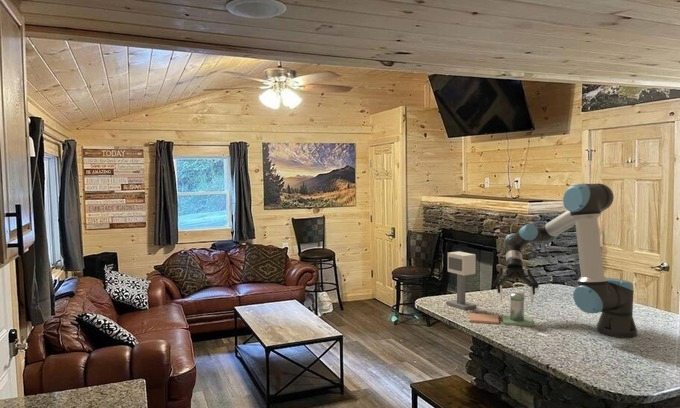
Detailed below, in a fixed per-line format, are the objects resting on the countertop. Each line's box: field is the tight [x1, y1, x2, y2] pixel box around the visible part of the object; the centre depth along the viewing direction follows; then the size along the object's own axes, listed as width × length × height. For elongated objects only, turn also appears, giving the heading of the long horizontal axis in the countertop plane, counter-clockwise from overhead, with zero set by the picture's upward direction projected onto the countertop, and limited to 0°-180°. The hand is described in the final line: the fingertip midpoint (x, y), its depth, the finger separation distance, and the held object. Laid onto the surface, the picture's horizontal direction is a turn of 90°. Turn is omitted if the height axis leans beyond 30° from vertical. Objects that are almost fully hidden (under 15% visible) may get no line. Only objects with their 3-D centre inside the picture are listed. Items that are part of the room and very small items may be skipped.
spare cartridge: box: [509, 291, 525, 321], centre depth 231 cm, size 6×6×12 cm
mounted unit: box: [445, 251, 478, 311], centre depth 258 cm, size 9×13×28 cm
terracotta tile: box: [469, 312, 500, 325], centre depth 235 cm, size 11×13×1 cm
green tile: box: [501, 315, 535, 327], centre depth 231 cm, size 11×13×1 cm
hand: (516, 299), depth 232 cm, fingers open, 13 cm apart
